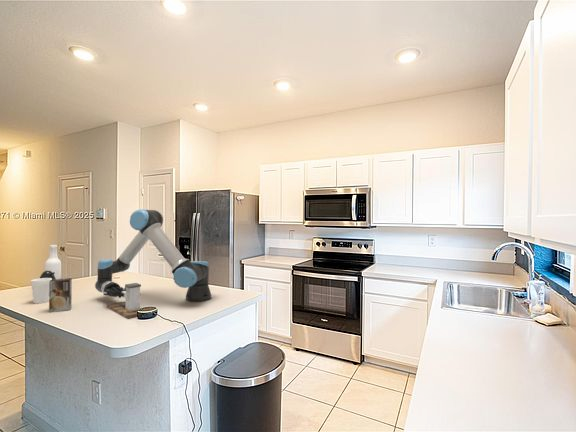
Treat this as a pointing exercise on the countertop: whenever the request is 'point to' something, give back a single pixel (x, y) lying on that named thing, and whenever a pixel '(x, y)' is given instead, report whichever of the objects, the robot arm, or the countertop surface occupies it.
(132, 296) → the silver square canister
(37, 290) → the foam cup
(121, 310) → the rail board
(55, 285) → the coffee box
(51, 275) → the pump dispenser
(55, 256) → the alcohol
